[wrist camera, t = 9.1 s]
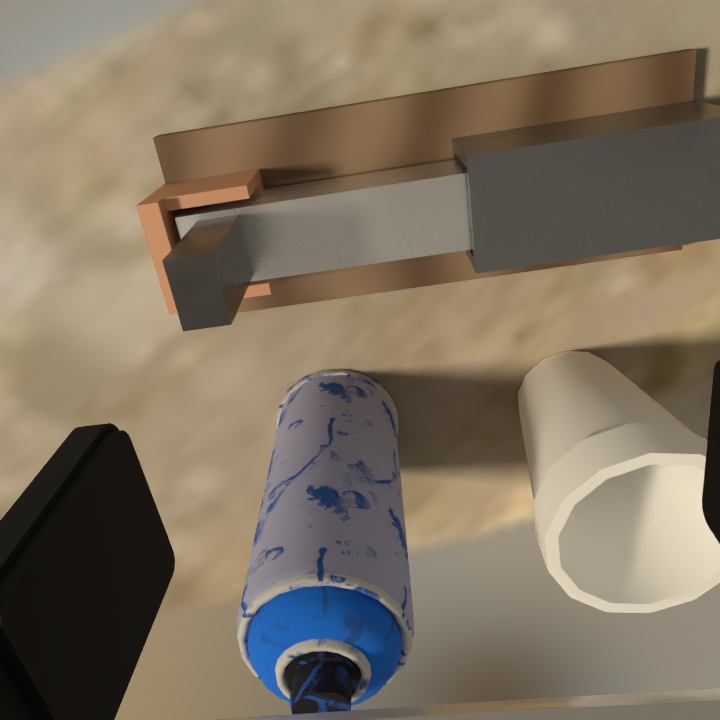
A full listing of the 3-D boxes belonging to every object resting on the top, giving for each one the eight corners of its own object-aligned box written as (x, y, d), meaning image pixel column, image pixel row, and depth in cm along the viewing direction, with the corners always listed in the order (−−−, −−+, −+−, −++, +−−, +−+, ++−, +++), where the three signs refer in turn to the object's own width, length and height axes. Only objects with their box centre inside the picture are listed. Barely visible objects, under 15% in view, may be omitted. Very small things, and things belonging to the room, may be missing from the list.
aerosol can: (261, 382, 40) (183, 658, 22) (384, 357, 40) (404, 622, 22) (295, 481, 44) (250, 789, 26) (409, 460, 43) (444, 762, 25)
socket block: (259, 168, 34) (243, 188, 29) (280, 267, 36) (269, 299, 31) (165, 183, 34) (136, 205, 29) (192, 280, 36) (169, 314, 32)
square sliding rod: (499, 152, 32) (550, 194, 24) (503, 223, 34) (551, 286, 25) (192, 200, 33) (134, 257, 25) (210, 266, 35) (161, 341, 26)
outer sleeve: (693, 100, 32) (752, 112, 27) (685, 207, 34) (737, 236, 30) (451, 138, 33) (467, 156, 28) (460, 241, 35) (475, 273, 30)
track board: (687, 49, 32) (696, 49, 31) (674, 244, 36) (682, 249, 35) (158, 135, 34) (153, 137, 33) (207, 310, 38) (203, 317, 37)
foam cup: (604, 470, 43) (693, 629, 32) (473, 441, 42) (515, 594, 31) (669, 346, 39) (799, 476, 28) (525, 310, 38) (597, 430, 27)
